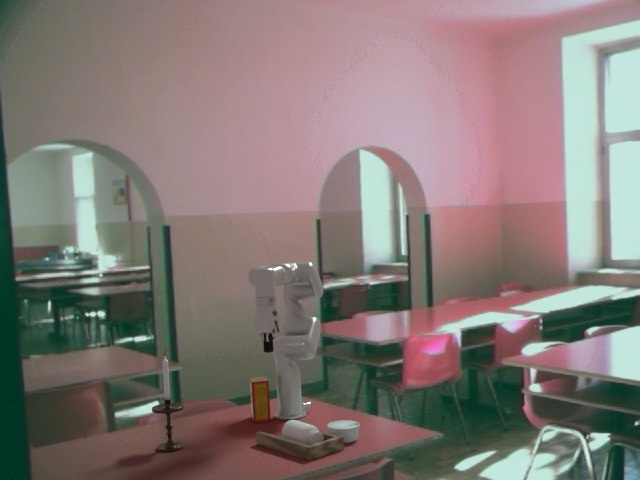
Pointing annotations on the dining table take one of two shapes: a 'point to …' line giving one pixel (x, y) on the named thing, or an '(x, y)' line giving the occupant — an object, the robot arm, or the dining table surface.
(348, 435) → the ramekin
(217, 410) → the dining table surface
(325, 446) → the u rest
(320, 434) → the pill bottle
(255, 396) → the baking soda box
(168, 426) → the candlestick
